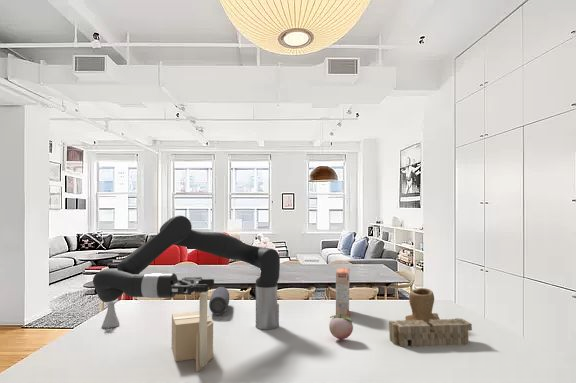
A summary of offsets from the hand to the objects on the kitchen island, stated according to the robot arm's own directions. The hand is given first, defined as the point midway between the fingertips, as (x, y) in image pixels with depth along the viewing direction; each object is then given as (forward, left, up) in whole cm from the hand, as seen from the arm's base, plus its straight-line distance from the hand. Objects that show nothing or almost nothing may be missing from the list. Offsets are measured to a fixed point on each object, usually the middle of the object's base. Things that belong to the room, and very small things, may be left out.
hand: (211, 285), depth 123 cm
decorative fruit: (-52, -10, -27) cm, 59 cm away
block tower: (-82, +4, -27) cm, 87 cm away
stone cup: (-97, -16, -27) cm, 102 cm away
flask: (+31, -62, -27) cm, 75 cm away
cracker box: (-71, -42, -27) cm, 86 cm away
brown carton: (+3, -19, -27) cm, 33 cm away
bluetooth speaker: (-17, -70, -27) cm, 77 cm away
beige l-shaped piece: (0, -5, -26) cm, 27 cm away
